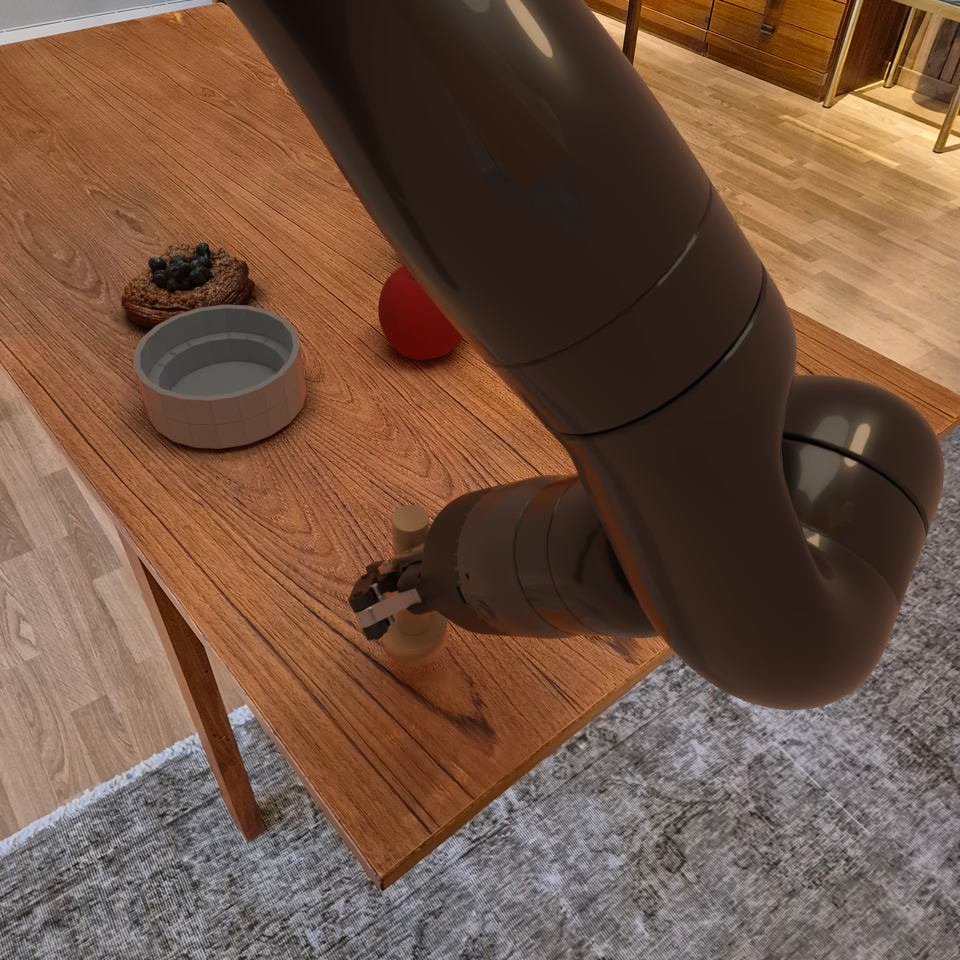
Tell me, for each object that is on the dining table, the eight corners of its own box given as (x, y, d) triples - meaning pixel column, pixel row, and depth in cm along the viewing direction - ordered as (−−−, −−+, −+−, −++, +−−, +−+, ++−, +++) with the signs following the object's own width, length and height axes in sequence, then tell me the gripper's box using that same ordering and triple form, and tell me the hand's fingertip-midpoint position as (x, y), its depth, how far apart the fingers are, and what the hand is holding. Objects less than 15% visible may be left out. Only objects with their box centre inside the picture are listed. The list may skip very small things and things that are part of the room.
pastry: (267, 287, 97) (259, 238, 93) (210, 348, 88) (199, 297, 84) (177, 269, 99) (166, 220, 95) (114, 327, 91) (98, 276, 86)
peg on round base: (402, 678, 58) (396, 556, 50) (370, 631, 61) (359, 508, 52) (459, 648, 60) (462, 526, 52) (425, 604, 63) (423, 481, 54)
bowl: (182, 475, 75) (166, 420, 71) (128, 387, 84) (111, 333, 79) (333, 418, 81) (326, 364, 77) (268, 341, 89) (259, 289, 85)
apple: (454, 381, 85) (455, 291, 78) (366, 364, 87) (359, 274, 80) (480, 329, 92) (483, 241, 85) (398, 314, 93) (393, 227, 87)
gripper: (601, 430, 45) (453, 473, 61) (375, 553, 39) (273, 567, 54) (660, 561, 46) (499, 571, 61) (447, 703, 40) (327, 675, 55)
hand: (394, 569), depth 58 cm, fingers closed on peg on round base, 2 cm apart
